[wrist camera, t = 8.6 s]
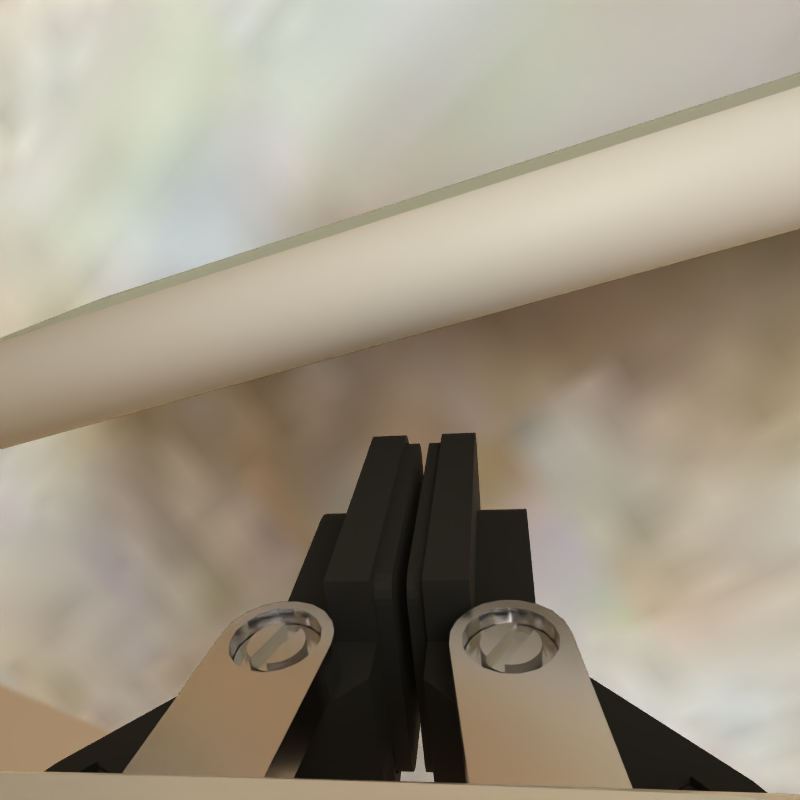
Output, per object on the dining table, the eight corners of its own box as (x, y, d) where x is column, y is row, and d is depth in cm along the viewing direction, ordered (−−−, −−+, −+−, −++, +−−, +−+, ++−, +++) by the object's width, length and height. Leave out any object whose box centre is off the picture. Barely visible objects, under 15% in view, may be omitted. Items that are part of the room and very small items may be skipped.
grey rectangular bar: (943, 22, 13) (1347, -84, 7) (952, 115, 13) (1335, 97, 7) (92, 298, 17) (-147, 391, 11) (121, 362, 17) (-95, 485, 11)
